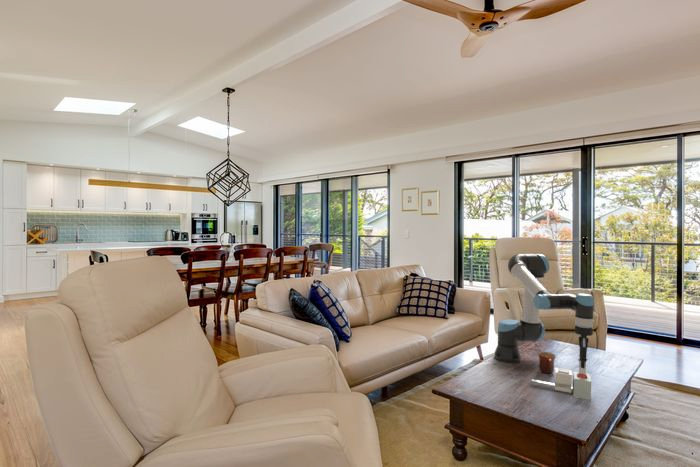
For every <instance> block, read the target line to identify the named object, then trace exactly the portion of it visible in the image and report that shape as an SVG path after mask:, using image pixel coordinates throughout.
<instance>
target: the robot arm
mask: <svg viewBox="0 0 700 467" xmlns="http://www.w3.org/2000/svg"><path fill="white" fill-rule="evenodd" d="M507 269H508V272H509V273H510V274H511V275H512V277H514V278H516V279H517V280H518V281H519V282H520V283H521V284H522V285H523V287H524V294H523V295H524V297H523V312H522V313H523V314H522V315H523V316H521V317H520V318H519V321H518V320H517V319H513V318H512V319H510V318H507V319H502V320H500V321H499V322H498V324H497V345H496V348H495V351H494V353H493V355H494V356H493V357H494V358H495V359H496V360H498V361H500V362H503V363H509V364H516V363H520V362H521V361H522V356H521V352H520V348H519V343H523V342H524V343H525V342H527V343H531V342H532V343H535V342H540V341H542V340H543V339H544V337H545V334H546V329H545V325H544V323H543V322H542V320H541V319H540V318H539V317H540V316H539V315H540V310H544V311H545V310H571V311H573V312H574V311H575V312H574V313H575V314H574V333H575V334H577V335H580V336H578V345H579V355H578V356H579V358H578V359H577V361H578V362H579V364H578V372H579V374H584V375H586V374H587V373H586V372H587V371H586V370H587V361H588V358H587V352H588V351H587V350H588V347H589V346H588V345H589V337H591V336H592V335H593V333H594V328H593V326H594V323H595V320H594V310H595V309H594V307H595V302H594V300H595V298H594V296H593V295H592V294H589V293H581V292H580V293H576V294H574V293H569V292H563V293H559V294H557V293H556V294H555V293H553V294H552V293H550V292H549V291H548V290H547V289H546V288H545V287H544V286H543V284H542V280H543V279H544V278H545V275H546V274H548V272H549V271H550V262H549V260H548V258H547V257H546V256H545V255H544V254H541V253H517V254H514V255H513V256H511V257H510V258H509V260H508V262H507ZM588 336H589V337H588Z"/></svg>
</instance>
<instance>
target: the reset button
mask: <svg viewBox="0 0 700 467" xmlns="http://www.w3.org/2000/svg"><path fill="white" fill-rule="evenodd" d="M586 376H587V375H584V374H579V373H578V377H579V378H585V379H586Z"/></svg>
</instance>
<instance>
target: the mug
mask: <svg viewBox="0 0 700 467" xmlns="http://www.w3.org/2000/svg"><path fill="white" fill-rule="evenodd" d="M537 354H538V359H539V361H538V370H539V372H540V373H542V374H543V375H546V374H547V376H549V375H553V374H554V372H555V371H554V370H555V359H556V354H554V353H552V352H548V351H539V352H538V353H537Z"/></svg>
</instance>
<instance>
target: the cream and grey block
mask: <svg viewBox="0 0 700 467" xmlns="http://www.w3.org/2000/svg"><path fill="white" fill-rule="evenodd" d="M554 370H555V371H554V372H555V374H554V383H555V390H554V391H556V390H559V391H558V392H561V391H564V392H563V393H566V392H569V393H568V394H571V387H572V382H573V374H572V373H573V372H572V370H571V369H567V368H563V367H554Z"/></svg>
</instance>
